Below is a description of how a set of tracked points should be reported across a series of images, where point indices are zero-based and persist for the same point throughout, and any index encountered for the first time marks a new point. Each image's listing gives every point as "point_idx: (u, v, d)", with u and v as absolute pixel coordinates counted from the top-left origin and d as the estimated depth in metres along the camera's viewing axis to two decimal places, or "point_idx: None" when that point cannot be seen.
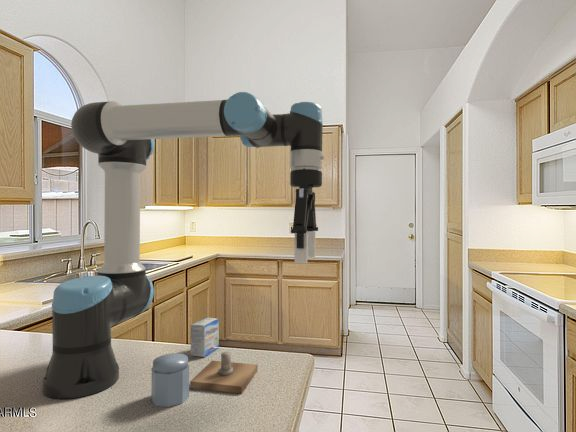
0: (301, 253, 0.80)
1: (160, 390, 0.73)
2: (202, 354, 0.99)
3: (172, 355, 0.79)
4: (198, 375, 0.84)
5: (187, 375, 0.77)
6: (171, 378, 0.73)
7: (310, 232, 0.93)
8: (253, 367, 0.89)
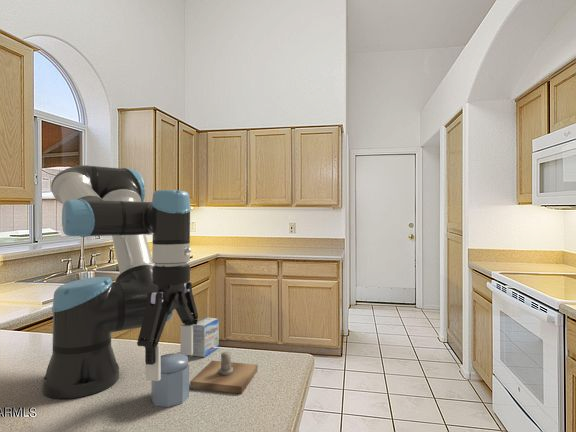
0: (152, 368, 0.69)
1: (160, 390, 0.73)
2: (202, 354, 0.99)
3: (172, 355, 0.79)
4: (198, 375, 0.84)
5: (187, 375, 0.77)
6: (171, 378, 0.73)
7: (186, 327, 0.83)
8: (253, 367, 0.89)
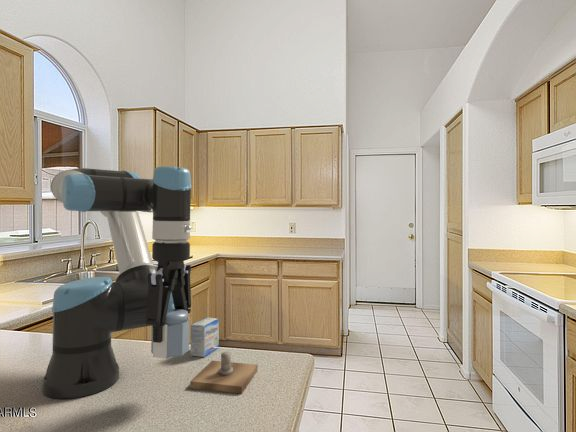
0: (159, 346, 0.73)
1: None
2: (202, 354, 0.99)
3: (172, 310, 0.79)
4: (198, 375, 0.84)
5: (187, 329, 0.77)
6: (171, 330, 0.74)
7: None
8: (253, 367, 0.89)
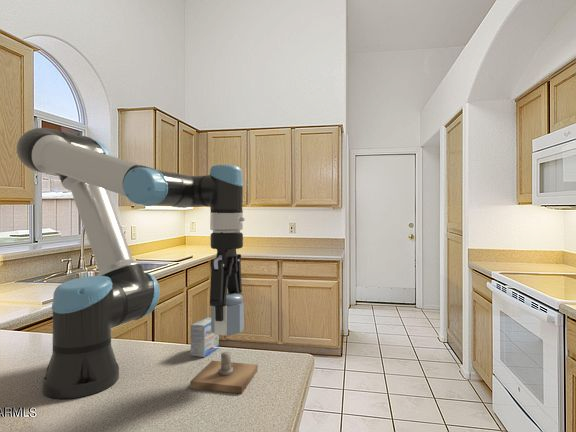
0: (221, 325, 0.82)
1: None
2: (202, 354, 0.99)
3: (227, 294, 0.88)
4: (198, 375, 0.84)
5: (242, 310, 0.86)
6: (230, 310, 0.83)
7: None
8: (253, 367, 0.89)
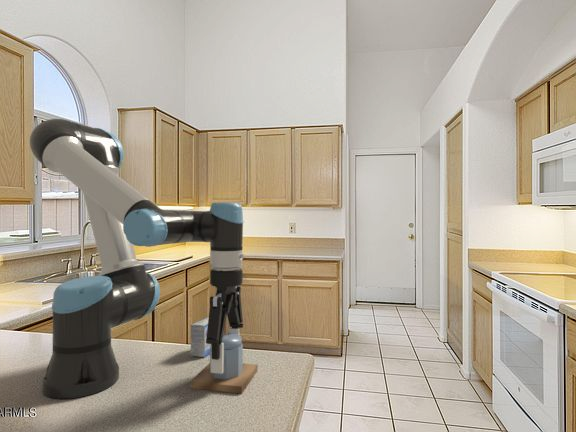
0: (217, 363, 0.80)
1: None
2: (202, 354, 0.99)
3: (226, 335, 0.88)
4: (198, 375, 0.84)
5: (241, 352, 0.86)
6: (229, 354, 0.83)
7: (234, 330, 0.91)
8: (253, 367, 0.89)
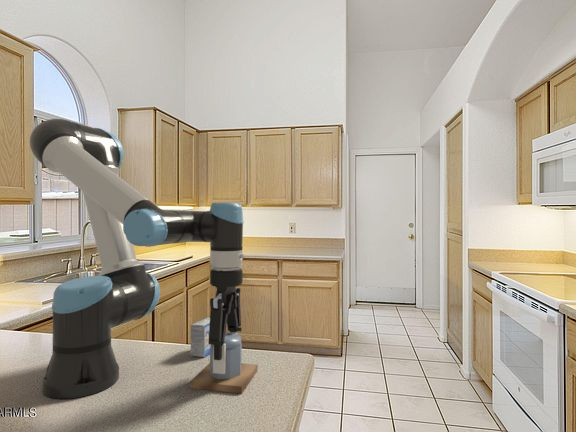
0: (219, 363, 0.82)
1: (234, 363, 0.83)
2: (202, 354, 0.99)
3: None
4: (198, 375, 0.84)
5: None
6: (240, 349, 0.85)
7: None
8: (253, 367, 0.89)
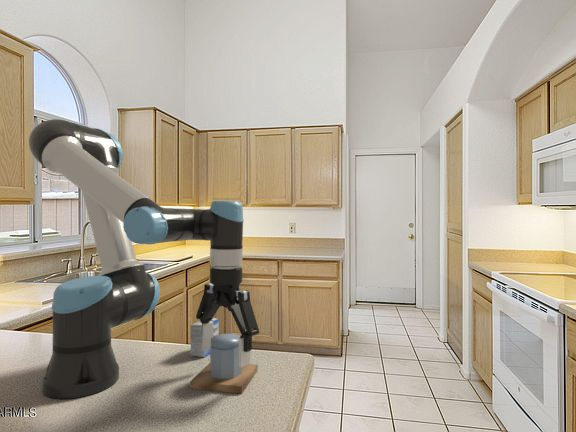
0: (246, 355, 0.81)
1: None
2: (202, 354, 0.99)
3: (217, 340, 0.85)
4: (198, 375, 0.84)
5: None
6: None
7: (209, 324, 0.90)
8: (253, 367, 0.89)
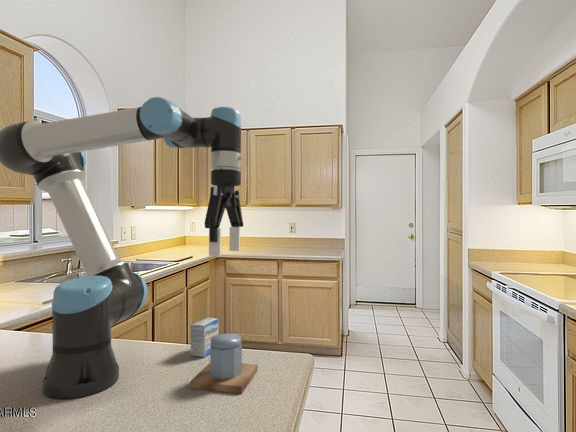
0: (215, 246, 0.86)
1: None
2: (202, 354, 0.99)
3: (217, 340, 0.85)
4: (198, 375, 0.84)
5: None
6: None
7: (235, 228, 1.00)
8: (253, 367, 0.89)
